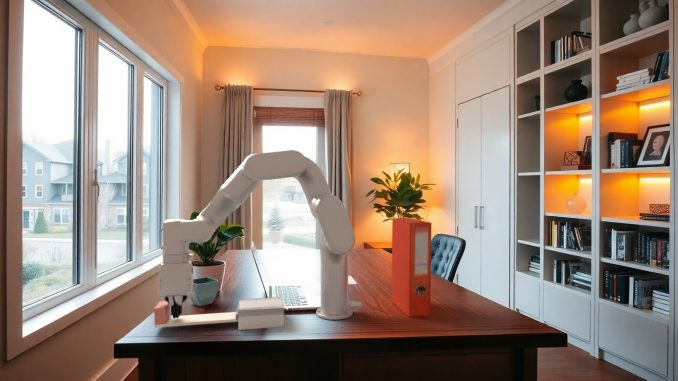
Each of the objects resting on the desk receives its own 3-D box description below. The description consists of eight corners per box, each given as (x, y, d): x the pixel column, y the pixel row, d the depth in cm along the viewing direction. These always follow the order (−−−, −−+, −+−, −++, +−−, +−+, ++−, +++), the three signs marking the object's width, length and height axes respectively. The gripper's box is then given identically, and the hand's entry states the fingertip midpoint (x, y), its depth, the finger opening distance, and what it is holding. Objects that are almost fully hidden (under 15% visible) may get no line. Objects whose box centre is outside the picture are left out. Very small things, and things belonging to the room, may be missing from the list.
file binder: (411, 300, 152) (411, 217, 151) (431, 315, 135) (431, 222, 134) (391, 302, 150) (391, 218, 149) (408, 317, 133) (409, 222, 133)
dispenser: (281, 314, 137) (281, 296, 136) (284, 326, 125) (283, 307, 125) (236, 317, 133) (236, 299, 133) (235, 330, 122) (235, 310, 122)
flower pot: (219, 303, 148) (219, 280, 148) (197, 309, 142) (197, 284, 142) (207, 299, 154) (207, 276, 154) (186, 304, 148) (185, 280, 148)
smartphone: (341, 284, 176) (335, 276, 190) (341, 286, 176) (335, 277, 190) (357, 283, 177) (350, 275, 192) (357, 285, 177) (350, 277, 192)
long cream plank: (243, 313, 131) (243, 296, 131) (243, 321, 125) (243, 302, 124) (159, 319, 126) (159, 301, 126) (154, 327, 119) (154, 308, 119)
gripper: (202, 255, 128) (203, 311, 129) (153, 257, 125) (153, 314, 126) (199, 259, 121) (200, 319, 121) (147, 262, 118) (147, 322, 118)
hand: (176, 316), depth 124 cm, fingers closed
